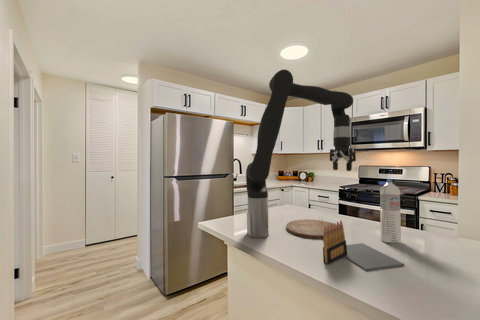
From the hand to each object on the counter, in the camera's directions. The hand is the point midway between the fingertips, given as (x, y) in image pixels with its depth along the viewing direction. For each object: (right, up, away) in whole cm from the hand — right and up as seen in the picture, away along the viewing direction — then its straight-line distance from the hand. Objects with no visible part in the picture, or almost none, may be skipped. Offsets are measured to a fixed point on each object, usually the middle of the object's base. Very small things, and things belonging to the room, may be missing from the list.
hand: (342, 170), depth 110 cm
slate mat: (-6, -28, -30) cm, 42 cm away
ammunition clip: (-17, -29, -33) cm, 46 cm away
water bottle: (+12, -28, -18) cm, 35 cm away
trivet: (-14, -29, 0) cm, 32 cm away
